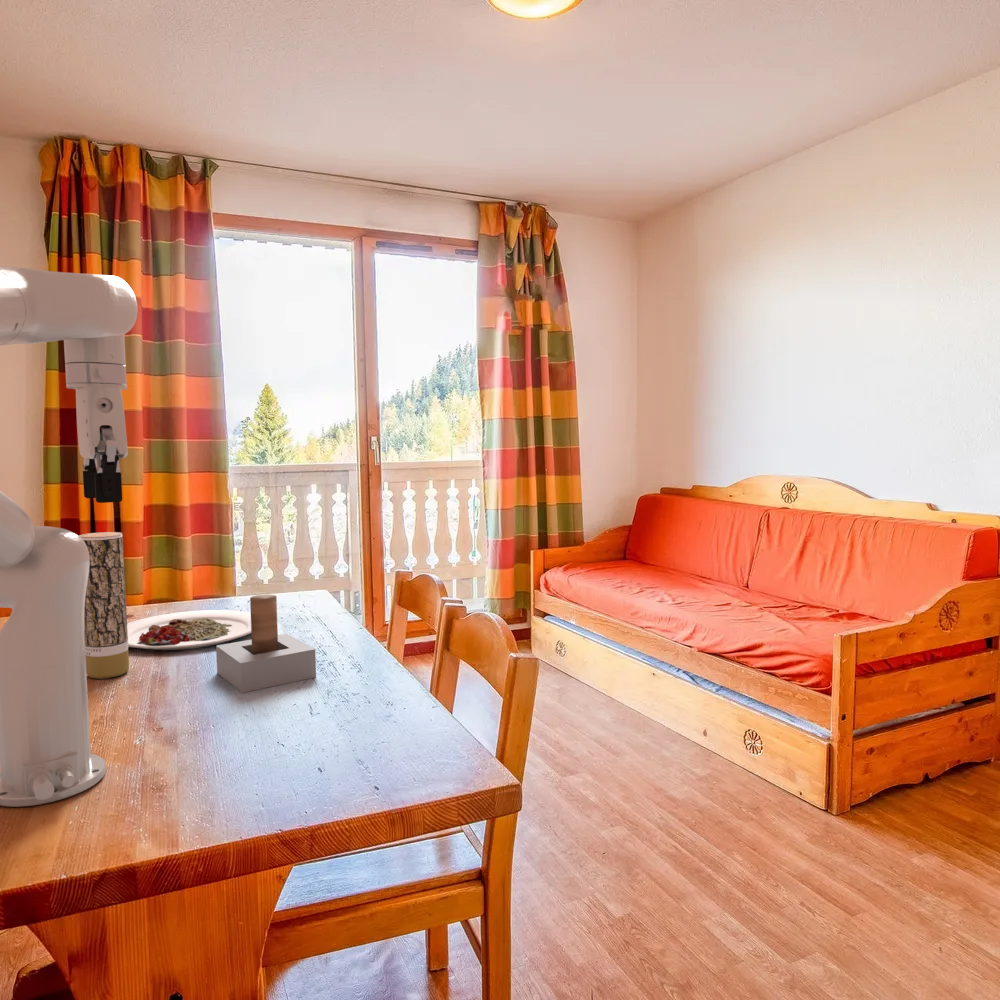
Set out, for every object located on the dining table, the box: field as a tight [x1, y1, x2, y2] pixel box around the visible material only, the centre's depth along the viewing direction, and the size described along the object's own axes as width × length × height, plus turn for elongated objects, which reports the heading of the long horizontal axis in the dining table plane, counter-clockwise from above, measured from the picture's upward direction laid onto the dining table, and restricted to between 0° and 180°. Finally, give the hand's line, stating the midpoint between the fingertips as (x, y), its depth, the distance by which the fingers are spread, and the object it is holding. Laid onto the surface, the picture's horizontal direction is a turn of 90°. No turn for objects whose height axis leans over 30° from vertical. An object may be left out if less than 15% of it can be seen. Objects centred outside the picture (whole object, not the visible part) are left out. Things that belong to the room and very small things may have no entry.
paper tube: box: [78, 531, 130, 680], centre depth 133 cm, size 7×7×25 cm
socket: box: [215, 633, 317, 694], centre depth 133 cm, size 13×13×5 cm
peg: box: [249, 594, 279, 655], centre depth 132 cm, size 4×4×14 cm
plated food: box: [127, 609, 251, 651], centre depth 160 cm, size 30×30×3 cm
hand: (102, 499), depth 107 cm, fingers open, 9 cm apart
